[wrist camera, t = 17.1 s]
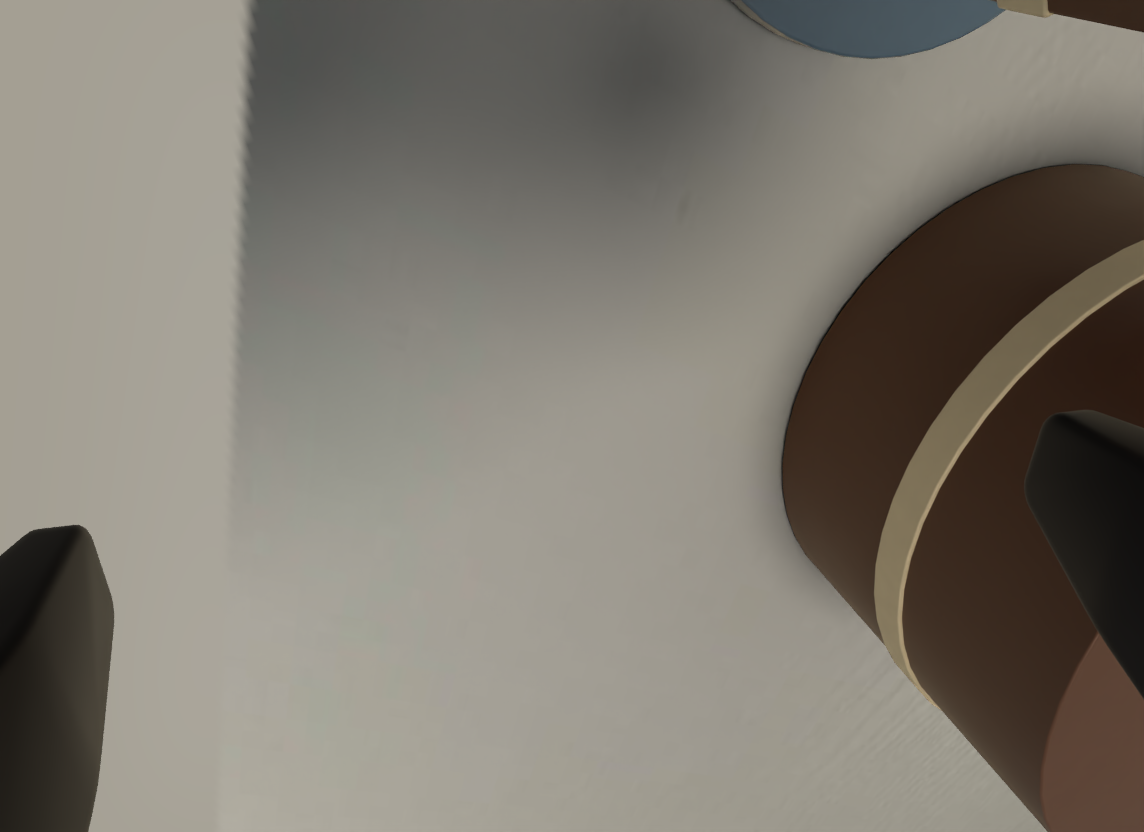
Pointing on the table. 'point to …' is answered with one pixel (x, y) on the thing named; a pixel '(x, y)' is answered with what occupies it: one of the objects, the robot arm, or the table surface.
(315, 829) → the table surface
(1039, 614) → the cake
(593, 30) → the table surface
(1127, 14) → the cake slice
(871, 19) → the plate
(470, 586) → the table surface
